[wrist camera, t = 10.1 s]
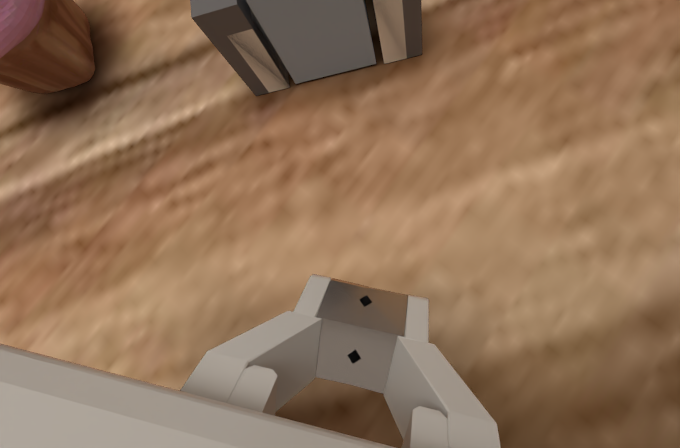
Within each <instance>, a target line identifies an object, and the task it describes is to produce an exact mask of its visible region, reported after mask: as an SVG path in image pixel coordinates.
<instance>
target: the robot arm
mask: <svg viewBox="0 0 680 448" xmlns="http://www.w3.org/2000/svg"><path fill="white" fill-rule="evenodd" d="M315 377H318V378H322V379H327V380H331V381H336V382H341V383H345V384H349V383H350V385H353V386H357V387H360V388H364V389H368V390H371V391H375V392H379V393H382V394H384V398H385V400H386V402H387V404H388V407H389V409H390V411H391V414H392V416H393V418H394V420H395V423H396V425H397V427H398V429H399V432H400V434H401V436H402V438H403V444H402V447H401V448H501V447H500V440H499V434H498V428H497V423H496V422H495V421H494V420H493V418H492V417H491V416H490V414H489V413H488V412H487V411H486V409H485V408H484V407H483V405H482V404H481V403H480V402H479V400H478V399H477V398H476V397H475V395H474V394H473V393H472V391H471V390H470V389H469V388H468V386H467V385H466V384H465V382H464V381H463V380H462V379H461V377H460V376H459V375H458V374H457V372H456V371H455V370H454V368H453V367H452V366H451V365H450V363H449V362H448V361H447V359H446V358H445V357H444V356H443V354H442V353H441V352H440V350H439V349H438V348H437V347H436V345H435V344H431V343H429V300H428V298H424V297H418V296H413V295H405V294H400V293H395V292H390V291H385V290H380V289H375V288H371V287H368V286H364V285H360V284H355V283H351V282H347V281H343V280H338V279H334V278H332V279H331V278H330V277H325V276H321V275H316V274H312V275H311V276H310V278H309V280H308V282H307V284H306V286H305V288H304V290H303V292H302V295H301V297H300V299H299V301H298V303H297V305H296V307H295V309H294V311H293V312H291V311H286V312H284V313H282V314H280V315H278V316H276V317H274V318H272V319H270V320H268V321H266V322H264V323H262V324H260V325H258V326H257V327H255V328H253V329H251V330H249V331H247V332H245V333H243V334H241V335H239V336H237V337H235V338H233V339H231V340H229V341H227V342H225V343H223V344H221V345H219V346H217V347H215V348H213V349H211V350H209V351H207V352H206V354H205V355H204V357H203V358H202V359H201V361H200V362H199V364H198V365H197V367H196V368H195V370H194V371H193V373H192V374H191V376H190V377H189V378H188V380H187V381H186V383H185V384H184V386H183V387H182V389H181V390H180V391H179V390H175V389H171V388H167V387H164V386H160V385H156V384H152V383H148V382H145V381H141V380H137V379H133V378H129V377H125V376H122V375H118V374H114V373H110V372H106V371H103V370H99V369H95V368H91V367H87V366H84V365H80V364H76V363H72V362H68V361H65V360H61V359H57V358H53V357H49V356H46V355H42V354H38V353H34V352H30V351H27V350H23V349H19V348H15V347H11V346H8V345H4V344H0V448H396V447H392V446H389V445H385V444H381V443H377V442H373V441H370V440H366V439H362V438H358V437H354V436H350V435H347V434H343V433H339V432H335V431H331V430H328V429H324V428H320V427H316V426H312V425H308V424H305V423H301V422H297V421H293V420H289V419H286V418H282V417H278V416H275V412H276V411H277V410H279V409H280V408H281V407H282V406H283V405H285V404H286V403H287V402H288V401H289V400H290V399H292V398H293V397H294V396H295V395H296V394H298V393H299V392H300V391H301V390H302V389H303V388H305V387H306V386H307V385H308V384H309V383H310V382H312V381H313V380H314V379H315Z"/></svg>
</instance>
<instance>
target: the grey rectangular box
mask: <svg viewBox="0 0 680 448" xmlns="http://www.w3.org/2000/svg"><path fill="white" fill-rule="evenodd" d="M246 1H247V3H248V5H249V7H250V8H251V10H252V12H253V13H254V15H255V17H256V18H257V20H258V22H259V23H260V25H261V27H262V28H263V30H264V32H265V33H266V35H267V37H268V38H269V40H270V42H271V43H272V45H273V47H274V48H275V50H276V52H277V54H278V55H279V57H280V59H281V60H282V62H283V64H284V65H285V67H286V69H287V70H288V72H289V74H290V75H291V77H292V79H293V80H294V82H295V84H297V83H301V82H305V81H309V80H313V79H317V78H321V77H325V76H329V75H333V74H337V73H341V72H345V71H349V70H353V69H357V68H361V67H365V66H369V65H373V64H376V59H375V53H374V48H373V42H372V37H371V31H370V25H369V20H368V14H367V9H366V3H365V0H246Z"/></svg>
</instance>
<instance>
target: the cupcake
mask: <svg viewBox="0 0 680 448" xmlns="http://www.w3.org/2000/svg"><path fill="white" fill-rule="evenodd" d="M94 71H95V63H94V57H93V47H92V43H91V39H90V25H89V21H88V19H87V17H86V15H85V14H84V12H83V11H82V10H81V9H80V7H79V6H78V5H77V4H76V3H75V2H74V1H73V0H0V84H4V85H7V86H11V87H15V88H18V89H22V90H25V91H30V92H34V93H40V94H48V93H53V92H56V91H60V90H63V89H66V88H71V87H75V86H77V85H80V84H82V83H85V82H87V81H89V80H90V79H91V78H92V76H93V74H94Z"/></svg>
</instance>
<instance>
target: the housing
mask: <svg viewBox="0 0 680 448" xmlns="http://www.w3.org/2000/svg"><path fill="white" fill-rule="evenodd" d="M372 1H373V6H374V11H375V17H376V22H377V28H378V33H379V38H380V44H381V49H382V54H383V60H384V64H386V63H390V62H394V61H398V60H402V59H406V58H410V57H414V56H418V55H422V21H421V0H372ZM190 2H191V16H192V19H193V20H194V21H195V22H196V24H197V25H198V26H199V27H200V29H201V30H202V31H203V32H204V33H205V35H206V36H207V37H208V38H209V39H210V41H211V42H212V43H213V44H214V46H215V47H216V48H217V49H218V50H219V52H220V53H221V54H222V55H223V57H224V58H225V59H226V60H227V61H228V63H229V64H230V65H231V66H232V67H233V69H234V70H235V71H236V72H237V74H238V75H239V76H240V77H241V78H242V80H243V81H244V82H245V83H246V85H247V86H248V87H249V88H250V89H251V91H252V92H253V93H254V94H255V95H256V96H258V95H262V94H266V93H270V92H274V91H278V90H282V89H286V88H290V86H289V79H288V71H287V69H286V67H285V65H284V64H283V62H282V60H281V59H280V57H279V55H278V54H277V52H276V50H275V48H274V47H273V45H272V43H271V42H270V40H269V38H268V37H267V35H266V33H265V32H264V30H263V28H262V27H261V25H260V23H259V22H258V20H257V18H256V17H255V15H254V13H253V12H252V10H251V8H250V7H249V5H248V3H247V1H246V0H190Z"/></svg>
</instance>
